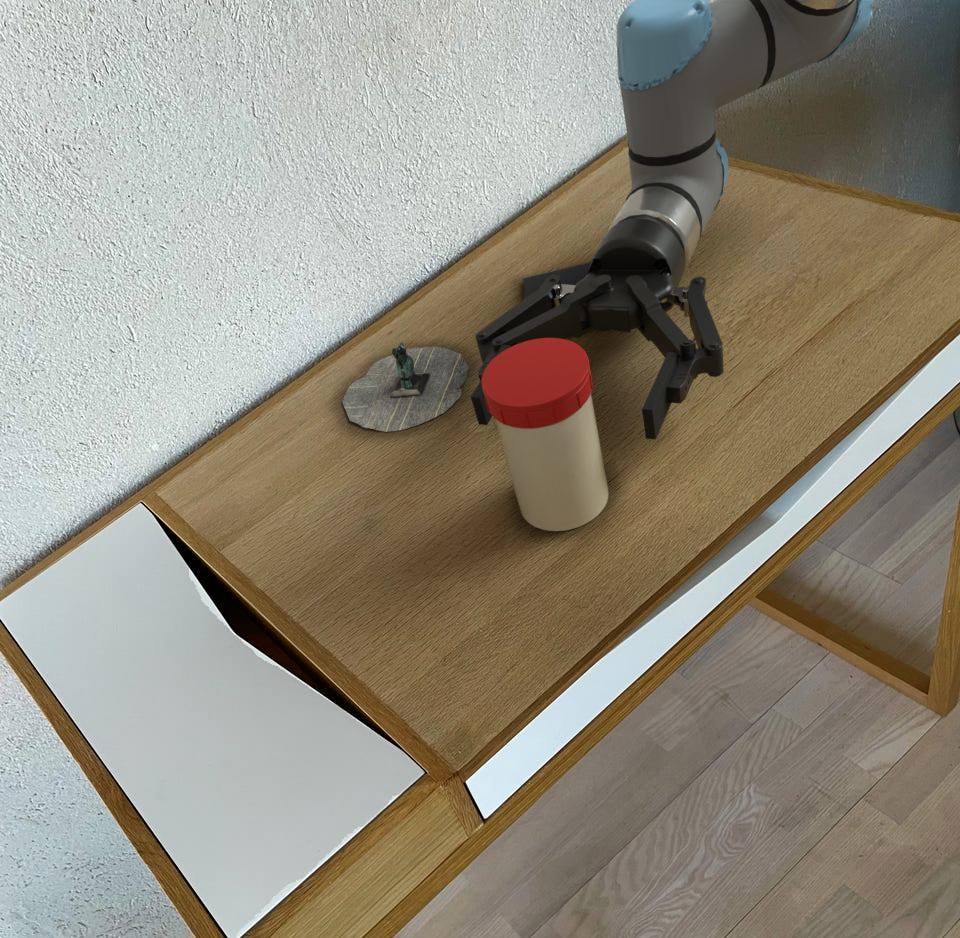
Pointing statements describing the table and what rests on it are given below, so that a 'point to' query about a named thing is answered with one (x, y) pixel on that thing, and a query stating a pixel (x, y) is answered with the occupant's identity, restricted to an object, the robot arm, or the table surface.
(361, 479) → the table surface
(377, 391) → the sculpture
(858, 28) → the robot arm
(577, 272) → the mat
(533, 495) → the jar
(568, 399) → the lid
